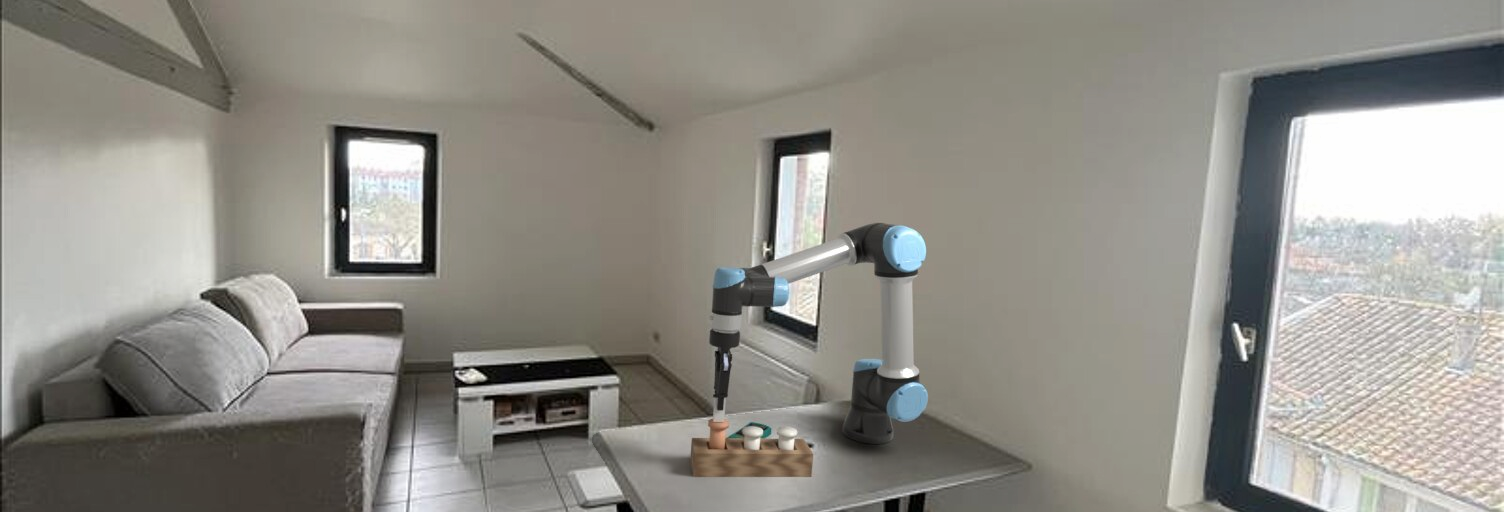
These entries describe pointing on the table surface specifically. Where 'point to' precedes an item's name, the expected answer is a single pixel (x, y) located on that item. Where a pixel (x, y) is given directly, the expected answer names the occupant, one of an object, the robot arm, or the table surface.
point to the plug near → (786, 438)
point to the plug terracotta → (717, 434)
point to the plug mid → (752, 437)
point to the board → (750, 459)
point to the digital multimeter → (765, 428)
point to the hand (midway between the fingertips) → (718, 420)
